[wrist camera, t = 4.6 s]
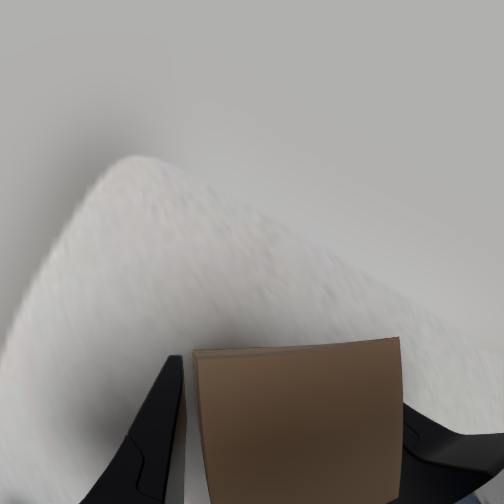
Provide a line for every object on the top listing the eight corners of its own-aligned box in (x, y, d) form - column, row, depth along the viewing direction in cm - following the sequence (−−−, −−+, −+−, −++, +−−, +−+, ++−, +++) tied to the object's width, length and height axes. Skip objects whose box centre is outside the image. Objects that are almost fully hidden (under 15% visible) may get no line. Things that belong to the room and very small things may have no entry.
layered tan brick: (260, 407, 15) (398, 497, 4) (197, 411, 14) (219, 545, 3) (256, 347, 16) (398, 336, 5) (192, 350, 15) (197, 359, 4)
